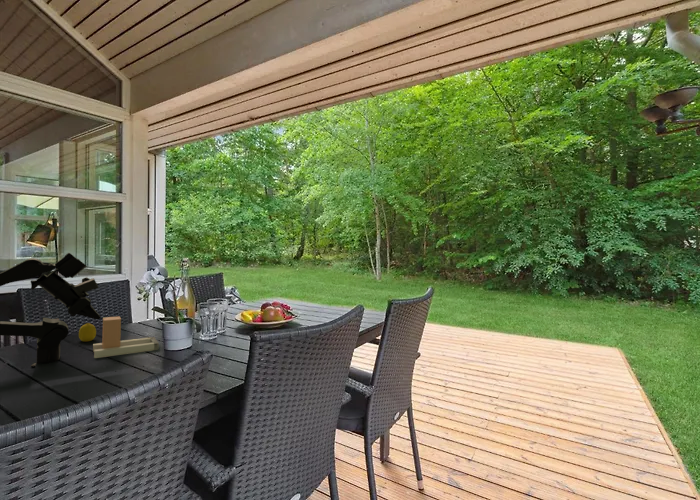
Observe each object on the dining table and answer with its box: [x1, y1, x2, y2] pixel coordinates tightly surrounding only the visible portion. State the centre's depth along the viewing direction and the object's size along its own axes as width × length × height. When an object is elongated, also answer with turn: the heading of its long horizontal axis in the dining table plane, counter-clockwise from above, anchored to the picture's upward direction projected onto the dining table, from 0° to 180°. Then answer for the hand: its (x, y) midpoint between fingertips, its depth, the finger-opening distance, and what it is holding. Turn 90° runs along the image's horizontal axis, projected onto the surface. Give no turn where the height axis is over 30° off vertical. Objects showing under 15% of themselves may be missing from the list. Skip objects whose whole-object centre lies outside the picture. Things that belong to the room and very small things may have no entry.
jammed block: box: [101, 315, 122, 349], centre depth 127 cm, size 5×5×12 cm
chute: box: [92, 336, 160, 359], centre depth 130 cm, size 19×10×4 cm, turn 128°
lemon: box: [78, 322, 97, 343], centre depth 139 cm, size 6×6×8 cm
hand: (99, 318), depth 125 cm, fingers closed
